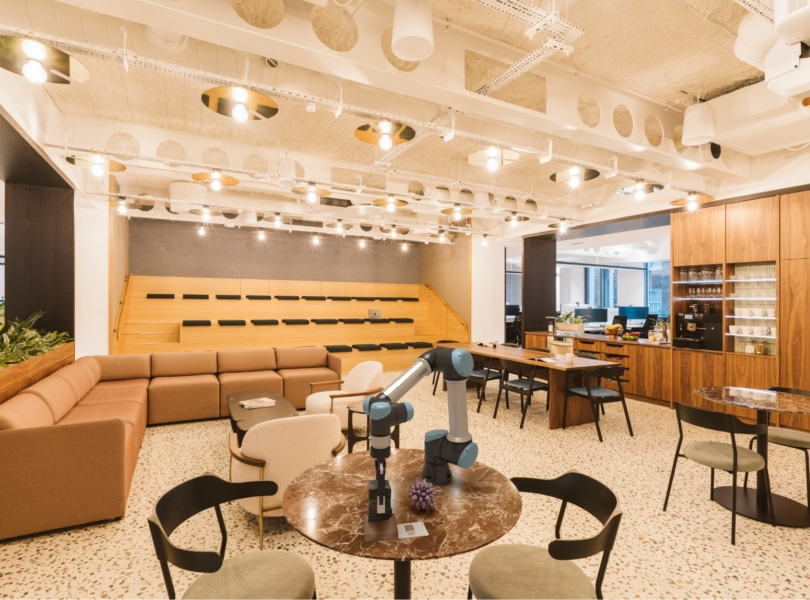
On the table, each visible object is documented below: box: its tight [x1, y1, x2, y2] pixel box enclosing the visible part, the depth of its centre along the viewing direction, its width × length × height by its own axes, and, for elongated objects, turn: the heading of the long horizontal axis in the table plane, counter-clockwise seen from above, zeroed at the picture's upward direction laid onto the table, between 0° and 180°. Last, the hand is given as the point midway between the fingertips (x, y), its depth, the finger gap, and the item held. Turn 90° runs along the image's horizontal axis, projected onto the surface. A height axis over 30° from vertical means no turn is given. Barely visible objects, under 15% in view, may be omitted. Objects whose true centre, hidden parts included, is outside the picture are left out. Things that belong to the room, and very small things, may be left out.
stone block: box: [367, 479, 393, 522], centre depth 152 cm, size 9×14×5 cm
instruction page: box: [397, 521, 429, 540], centre depth 152 cm, size 12×9×1 cm
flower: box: [407, 478, 437, 511], centre depth 168 cm, size 12×12×12 cm
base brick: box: [362, 512, 399, 542], centre depth 152 cm, size 12×13×3 cm
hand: (380, 507), depth 152 cm, fingers closed on stone block, 6 cm apart
